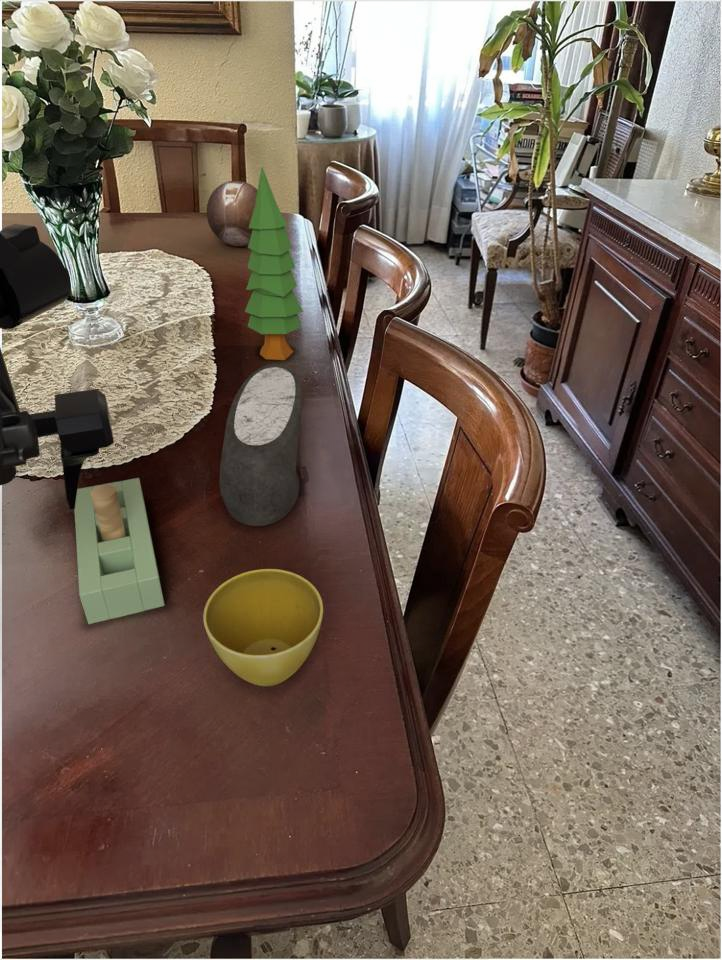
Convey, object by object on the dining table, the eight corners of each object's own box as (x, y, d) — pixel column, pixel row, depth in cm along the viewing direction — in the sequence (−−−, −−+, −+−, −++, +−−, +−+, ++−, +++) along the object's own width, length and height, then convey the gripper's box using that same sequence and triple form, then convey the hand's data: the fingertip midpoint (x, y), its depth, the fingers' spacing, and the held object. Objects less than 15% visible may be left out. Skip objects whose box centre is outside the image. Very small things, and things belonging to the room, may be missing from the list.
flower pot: (335, 698, 58) (335, 642, 53) (217, 723, 55) (208, 667, 51) (311, 614, 65) (309, 560, 61) (207, 633, 63) (199, 579, 59)
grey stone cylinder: (293, 531, 76) (290, 463, 70) (217, 529, 76) (208, 461, 70) (310, 421, 96) (309, 361, 91) (250, 419, 96) (245, 360, 91)
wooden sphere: (209, 255, 159) (202, 188, 150) (210, 237, 171) (203, 175, 162) (272, 253, 161) (268, 187, 153) (268, 236, 173) (265, 174, 165)
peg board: (88, 624, 64) (79, 595, 61) (81, 517, 77) (73, 489, 75) (164, 606, 66) (158, 577, 64) (144, 504, 79) (139, 477, 77)
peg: (109, 568, 70) (90, 500, 65) (107, 553, 72) (89, 487, 67) (132, 562, 71) (116, 495, 66) (130, 548, 73) (114, 482, 67)
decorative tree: (246, 363, 111) (230, 169, 94) (250, 340, 119) (236, 157, 101) (304, 363, 112) (298, 170, 94) (304, 340, 119) (299, 158, 102)
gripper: (-230, 426, 40) (-125, 608, 49) (97, 381, 46) (136, 551, 55) (-182, 352, 48) (-100, 519, 57) (89, 322, 54) (124, 478, 63)
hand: (16, 517), depth 58 cm, fingers open, 9 cm apart
